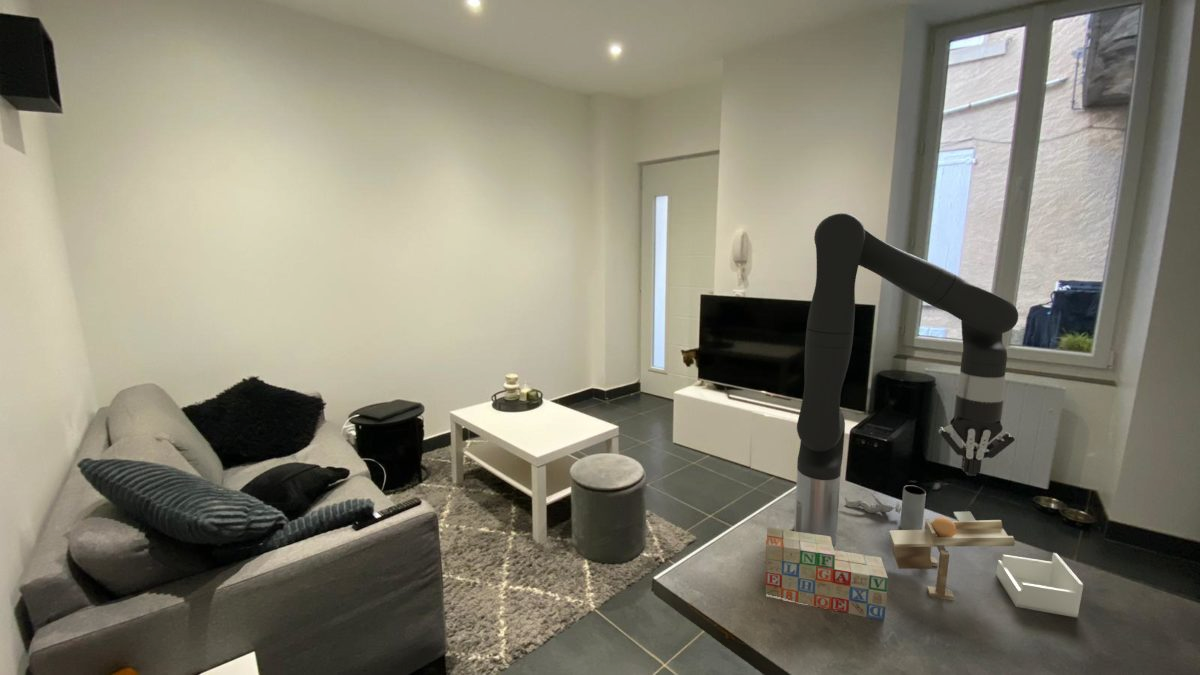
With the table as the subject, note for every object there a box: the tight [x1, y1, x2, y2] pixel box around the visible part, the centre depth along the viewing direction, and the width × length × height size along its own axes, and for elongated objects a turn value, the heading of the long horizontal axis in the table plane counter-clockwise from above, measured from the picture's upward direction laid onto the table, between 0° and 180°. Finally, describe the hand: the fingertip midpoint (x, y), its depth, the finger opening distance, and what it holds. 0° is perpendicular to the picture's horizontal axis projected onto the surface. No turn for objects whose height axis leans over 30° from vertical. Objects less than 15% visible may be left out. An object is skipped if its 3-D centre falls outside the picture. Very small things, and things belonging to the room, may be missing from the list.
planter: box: [899, 484, 927, 530], centre depth 116 cm, size 4×4×10 cm
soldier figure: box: [844, 492, 902, 514], centre depth 124 cm, size 8×5×12 cm
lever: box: [889, 510, 1016, 570], centre depth 100 cm, size 20×13×8 cm, turn 69°
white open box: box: [995, 552, 1084, 618], centre depth 94 cm, size 9×9×7 cm
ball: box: [932, 516, 956, 537], centre depth 98 cm, size 4×4×4 cm
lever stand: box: [924, 520, 955, 601], centre depth 100 cm, size 4×12×10 cm, turn 160°
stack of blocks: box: [765, 526, 889, 621], centre depth 95 cm, size 21×6×12 cm, turn 70°
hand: (970, 473), depth 100 cm, fingers closed
